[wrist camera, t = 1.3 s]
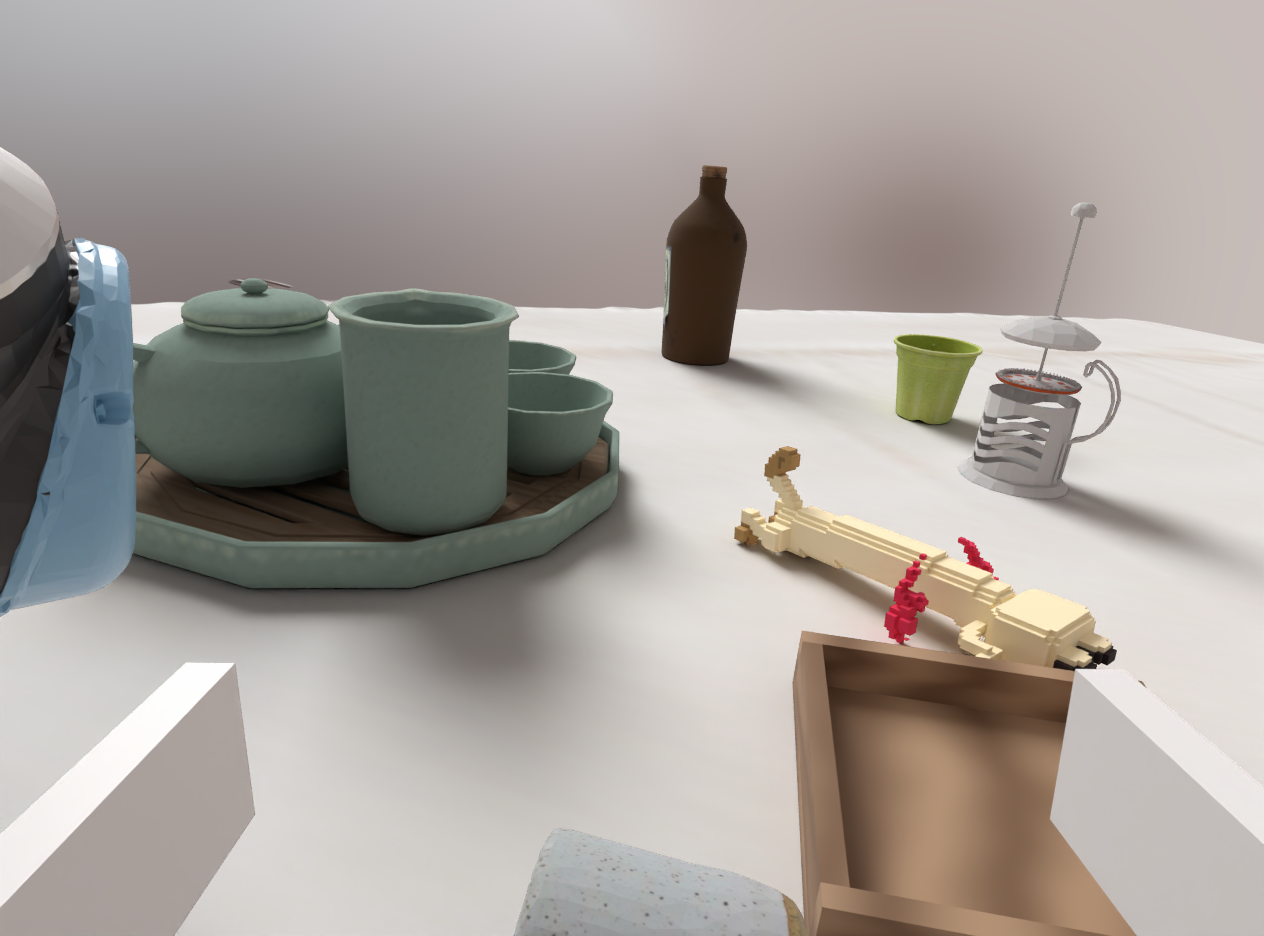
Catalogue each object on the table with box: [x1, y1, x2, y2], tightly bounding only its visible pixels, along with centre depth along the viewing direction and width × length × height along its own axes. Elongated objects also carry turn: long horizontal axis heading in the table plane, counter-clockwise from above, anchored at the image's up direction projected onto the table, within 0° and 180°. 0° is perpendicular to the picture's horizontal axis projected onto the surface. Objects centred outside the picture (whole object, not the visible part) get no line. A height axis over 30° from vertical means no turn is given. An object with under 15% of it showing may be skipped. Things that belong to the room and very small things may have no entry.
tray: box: [793, 631, 1146, 936], centre depth 34 cm, size 17×17×3 cm
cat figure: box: [734, 446, 1117, 671], centre depth 50 cm, size 10×9×25 cm
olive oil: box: [662, 165, 747, 365], centre depth 107 cm, size 11×11×25 cm
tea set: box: [133, 278, 619, 588], centre depth 63 cm, size 40×40×16 cm
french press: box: [957, 202, 1121, 499], centre depth 71 cm, size 10×12×25 cm
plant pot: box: [894, 334, 982, 424], centre depth 91 cm, size 9×9×9 cm
